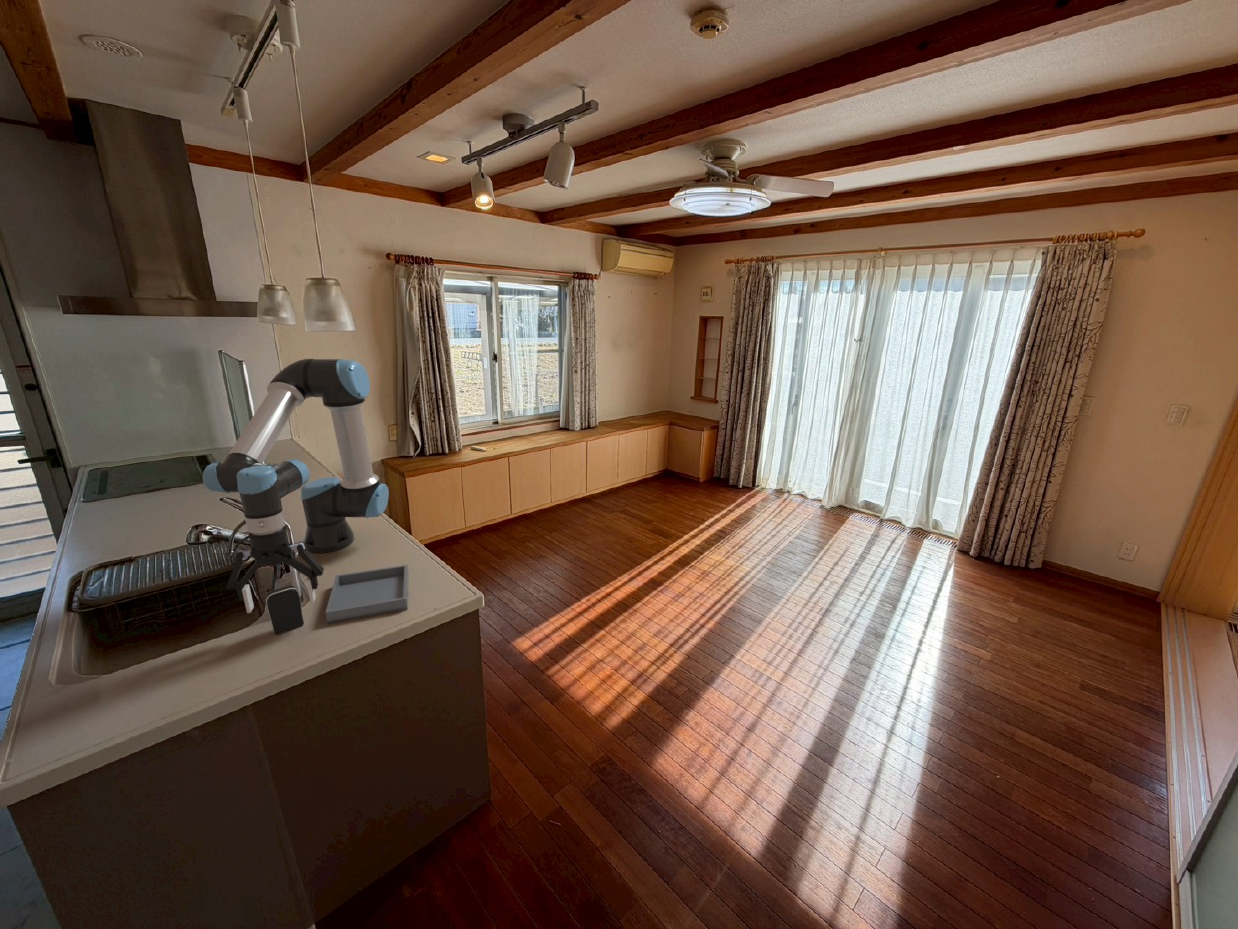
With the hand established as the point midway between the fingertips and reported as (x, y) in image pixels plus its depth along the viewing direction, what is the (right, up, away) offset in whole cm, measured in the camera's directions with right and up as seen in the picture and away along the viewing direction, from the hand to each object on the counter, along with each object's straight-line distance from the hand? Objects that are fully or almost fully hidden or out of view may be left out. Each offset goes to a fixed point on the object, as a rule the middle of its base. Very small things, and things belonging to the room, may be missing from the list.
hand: (282, 604), depth 124 cm
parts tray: (+14, -3, +16) cm, 22 cm away
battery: (0, -7, +3) cm, 7 cm away
